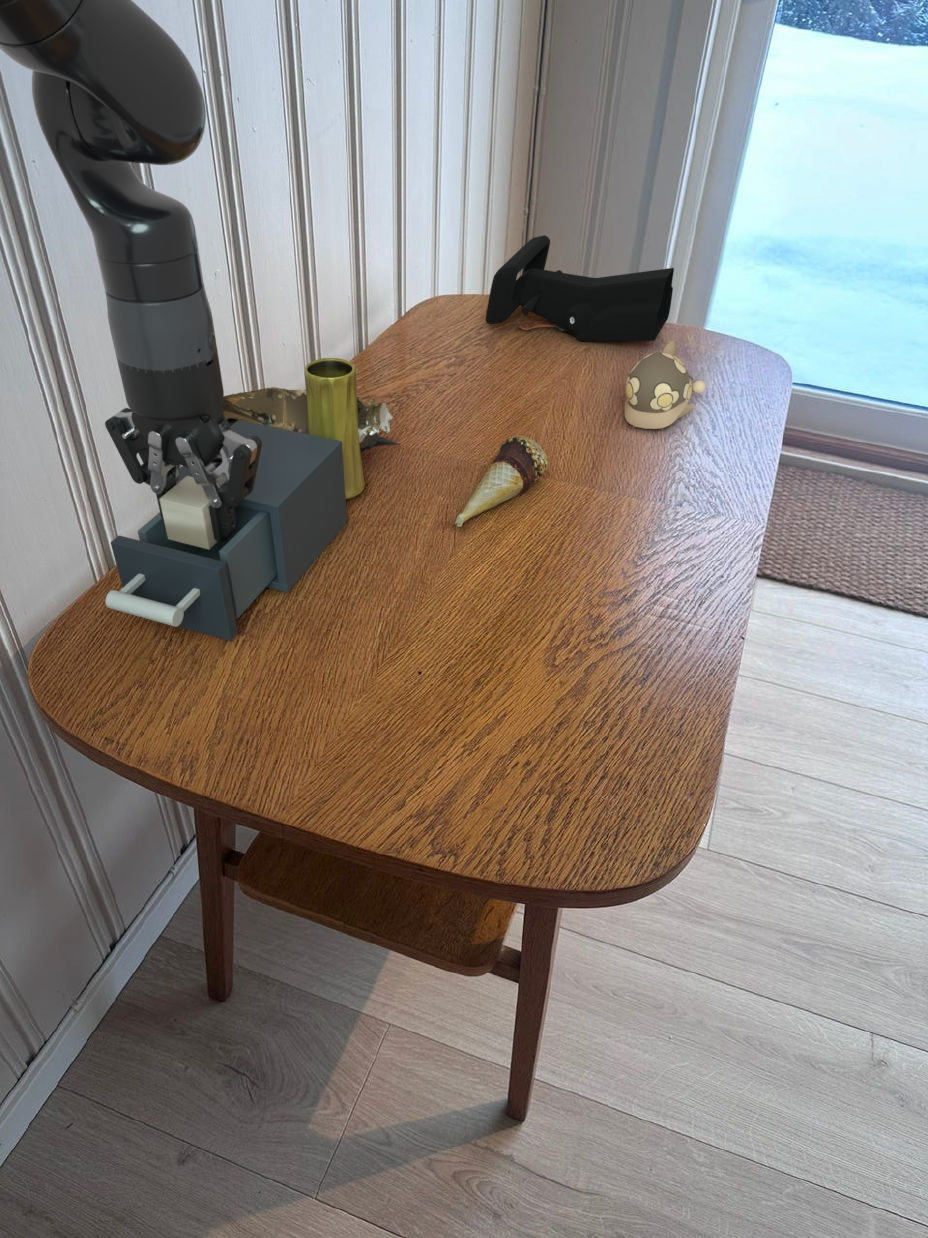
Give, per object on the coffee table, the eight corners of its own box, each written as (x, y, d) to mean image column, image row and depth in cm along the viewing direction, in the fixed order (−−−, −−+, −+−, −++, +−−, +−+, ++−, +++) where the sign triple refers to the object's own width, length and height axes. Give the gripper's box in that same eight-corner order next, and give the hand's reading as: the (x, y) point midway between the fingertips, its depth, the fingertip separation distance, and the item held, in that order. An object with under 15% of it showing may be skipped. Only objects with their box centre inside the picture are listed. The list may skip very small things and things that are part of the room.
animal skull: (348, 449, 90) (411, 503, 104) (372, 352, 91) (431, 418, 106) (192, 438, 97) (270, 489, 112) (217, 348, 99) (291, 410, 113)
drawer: (203, 673, 75) (188, 600, 70) (98, 643, 77) (76, 570, 72) (295, 566, 87) (288, 498, 82) (202, 543, 89) (189, 475, 84)
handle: (665, 351, 126) (648, 244, 118) (495, 371, 140) (469, 276, 131) (691, 305, 138) (677, 205, 130) (532, 328, 151) (510, 238, 143)
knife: (602, 331, 140) (597, 323, 142) (603, 328, 139) (597, 319, 142) (521, 332, 137) (517, 323, 140) (521, 328, 137) (517, 320, 139)
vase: (357, 504, 97) (351, 382, 88) (303, 498, 98) (292, 377, 89) (370, 476, 102) (365, 358, 93) (318, 471, 103) (309, 353, 93)
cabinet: (287, 593, 85) (277, 506, 79) (182, 565, 88) (164, 480, 82) (347, 522, 95) (342, 440, 89) (250, 500, 98) (238, 419, 91)
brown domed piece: (637, 413, 127) (606, 425, 114) (648, 333, 123) (617, 336, 110) (708, 422, 123) (684, 435, 110) (721, 340, 119) (698, 344, 106)
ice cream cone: (432, 493, 94) (512, 418, 101) (438, 532, 98) (514, 458, 105) (478, 513, 91) (557, 435, 98) (483, 553, 95) (558, 475, 103)
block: (209, 549, 77) (201, 508, 74) (167, 539, 78) (159, 498, 75) (234, 525, 80) (228, 485, 77) (194, 515, 81) (186, 475, 78)
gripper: (56, 348, 67) (107, 535, 78) (221, 380, 63) (250, 572, 74) (118, 314, 72) (157, 494, 83) (272, 342, 69) (292, 526, 80)
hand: (201, 530), depth 79 cm, fingers closed on block, 4 cm apart
